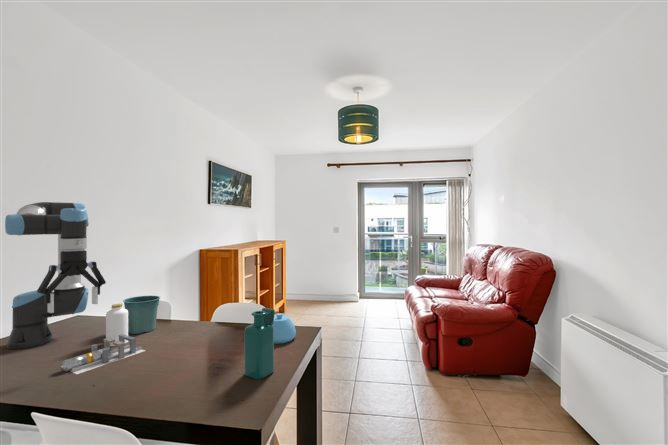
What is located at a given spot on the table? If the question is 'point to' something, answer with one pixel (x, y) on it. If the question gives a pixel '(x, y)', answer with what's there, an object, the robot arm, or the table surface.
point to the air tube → (83, 359)
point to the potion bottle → (116, 322)
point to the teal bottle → (259, 345)
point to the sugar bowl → (283, 329)
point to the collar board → (115, 354)
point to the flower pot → (141, 313)
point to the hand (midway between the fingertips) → (73, 308)
